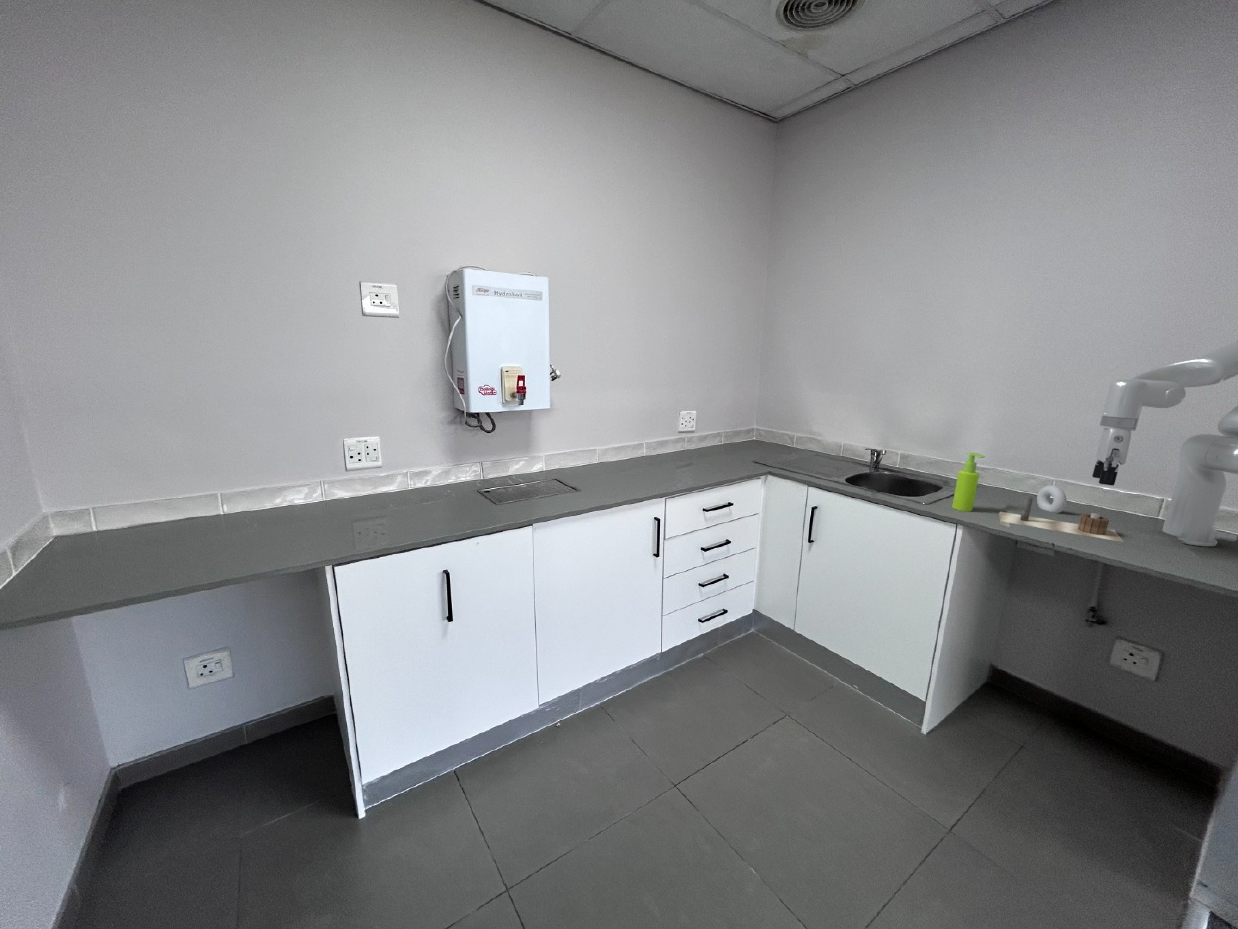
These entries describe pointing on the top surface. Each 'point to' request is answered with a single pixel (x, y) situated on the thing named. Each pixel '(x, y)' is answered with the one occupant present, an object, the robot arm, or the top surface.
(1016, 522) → the peg board
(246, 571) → the top surface
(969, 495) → the soap dispenser
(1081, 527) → the walnut ring
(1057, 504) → the donut
